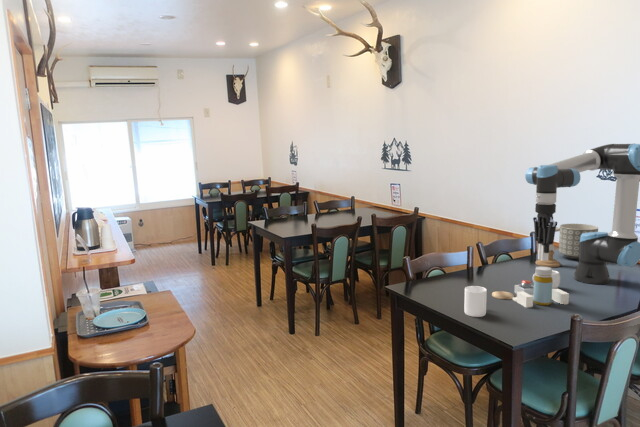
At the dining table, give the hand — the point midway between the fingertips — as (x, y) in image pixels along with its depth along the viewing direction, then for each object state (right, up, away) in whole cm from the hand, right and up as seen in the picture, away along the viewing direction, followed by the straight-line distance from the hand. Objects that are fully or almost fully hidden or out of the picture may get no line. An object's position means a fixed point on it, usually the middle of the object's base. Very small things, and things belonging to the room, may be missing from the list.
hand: (543, 259), depth 202 cm
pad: (-12, -17, +13) cm, 24 cm away
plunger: (-1, -15, +14) cm, 21 cm away
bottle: (+1, -19, +2) cm, 19 cm away
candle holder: (+31, -9, +62) cm, 70 cm away
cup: (-29, -21, -6) cm, 36 cm away
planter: (+53, -6, +74) cm, 92 cm away
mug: (+12, -15, +23) cm, 30 cm away
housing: (0, -18, +8) cm, 19 cm away
